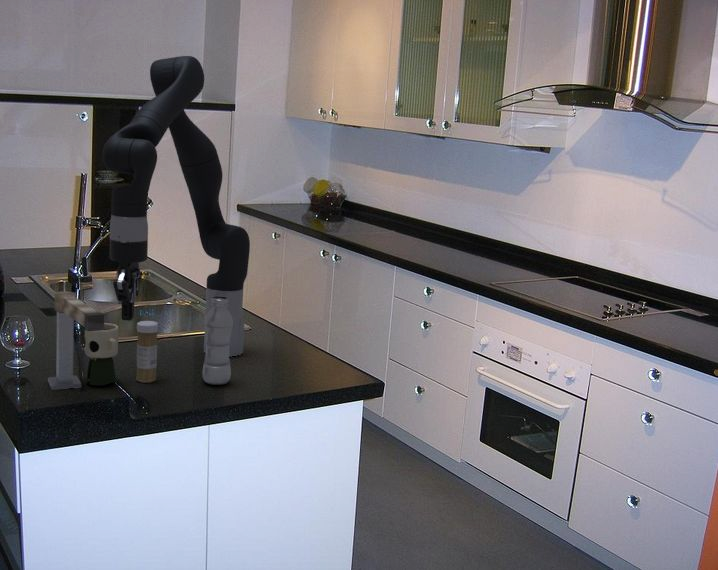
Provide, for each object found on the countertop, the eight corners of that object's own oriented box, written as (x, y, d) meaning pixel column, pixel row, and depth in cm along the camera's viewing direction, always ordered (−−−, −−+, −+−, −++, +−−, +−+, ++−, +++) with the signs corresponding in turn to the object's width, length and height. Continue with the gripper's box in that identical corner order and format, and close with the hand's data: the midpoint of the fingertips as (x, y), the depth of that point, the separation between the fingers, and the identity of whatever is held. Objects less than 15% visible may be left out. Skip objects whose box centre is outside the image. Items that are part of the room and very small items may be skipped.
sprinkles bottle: (149, 376, 199) (150, 319, 196) (160, 381, 196) (162, 323, 193) (131, 379, 196) (133, 321, 193) (143, 384, 193) (144, 326, 190)
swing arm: (51, 308, 186) (51, 292, 185) (72, 306, 189) (72, 291, 188) (84, 332, 169) (84, 314, 168) (106, 330, 172) (107, 313, 171)
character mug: (73, 380, 192) (73, 323, 190) (101, 374, 197) (102, 319, 195) (99, 393, 185) (100, 334, 183) (128, 387, 190) (129, 329, 188)
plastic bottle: (205, 388, 193) (209, 301, 189) (198, 379, 199) (202, 294, 195) (233, 387, 196) (238, 300, 192) (226, 378, 202) (229, 294, 198)
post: (76, 379, 193) (77, 307, 190) (81, 387, 187) (82, 313, 184) (48, 381, 190) (48, 308, 187) (52, 390, 185) (52, 314, 182)
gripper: (120, 231, 184) (119, 311, 187) (100, 240, 171) (99, 326, 174) (155, 234, 183) (154, 313, 187) (138, 243, 170) (136, 328, 174)
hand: (127, 319), depth 180 cm, fingers closed
